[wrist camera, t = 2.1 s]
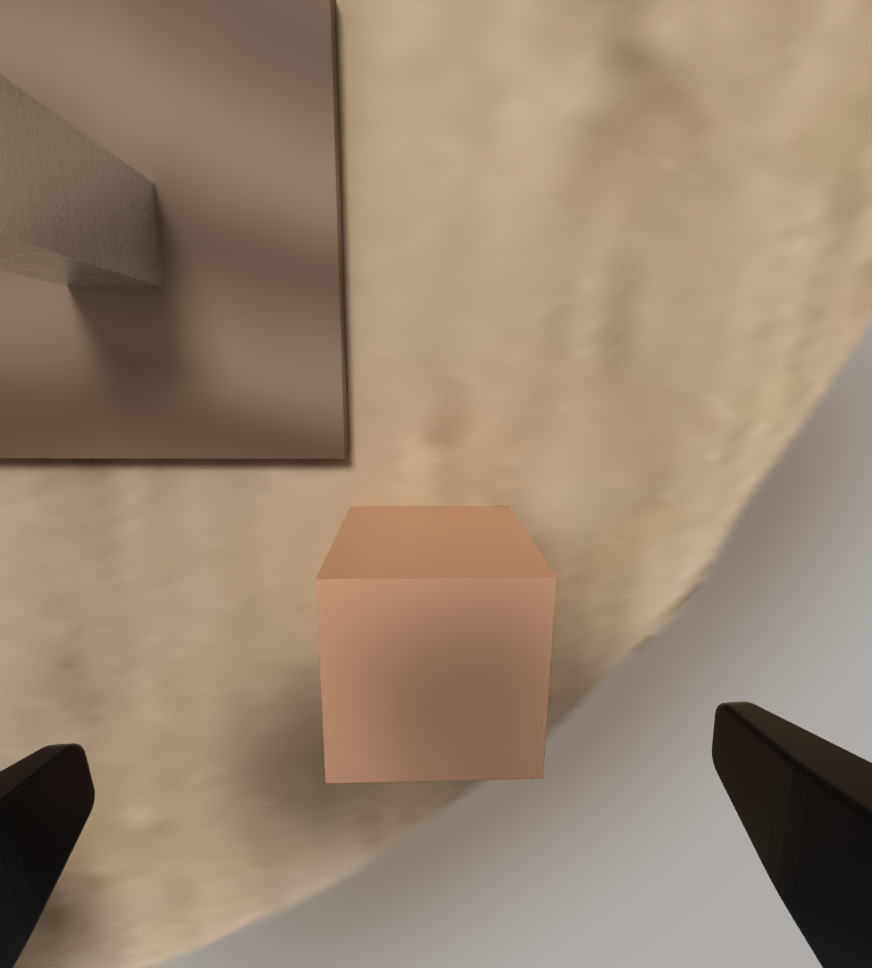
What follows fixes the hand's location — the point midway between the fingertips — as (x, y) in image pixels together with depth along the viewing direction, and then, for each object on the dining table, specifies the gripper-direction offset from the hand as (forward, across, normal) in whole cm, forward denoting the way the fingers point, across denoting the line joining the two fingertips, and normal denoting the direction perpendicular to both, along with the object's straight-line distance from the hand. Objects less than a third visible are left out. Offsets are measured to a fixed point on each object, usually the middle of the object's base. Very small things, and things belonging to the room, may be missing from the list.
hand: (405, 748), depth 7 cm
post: (+11, +9, -10) cm, 17 cm away
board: (+12, +9, -10) cm, 18 cm away
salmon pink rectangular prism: (+12, 0, +3) cm, 12 cm away
